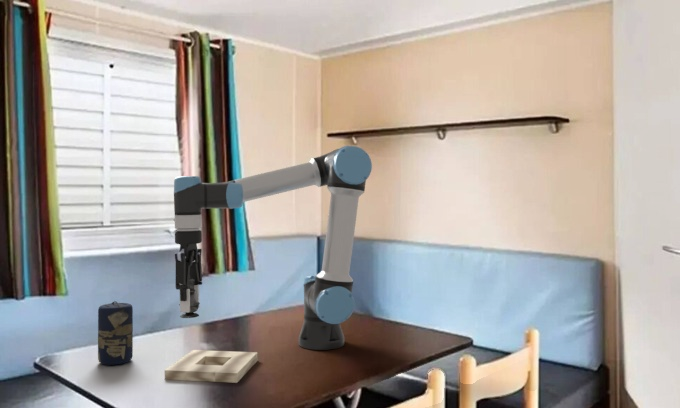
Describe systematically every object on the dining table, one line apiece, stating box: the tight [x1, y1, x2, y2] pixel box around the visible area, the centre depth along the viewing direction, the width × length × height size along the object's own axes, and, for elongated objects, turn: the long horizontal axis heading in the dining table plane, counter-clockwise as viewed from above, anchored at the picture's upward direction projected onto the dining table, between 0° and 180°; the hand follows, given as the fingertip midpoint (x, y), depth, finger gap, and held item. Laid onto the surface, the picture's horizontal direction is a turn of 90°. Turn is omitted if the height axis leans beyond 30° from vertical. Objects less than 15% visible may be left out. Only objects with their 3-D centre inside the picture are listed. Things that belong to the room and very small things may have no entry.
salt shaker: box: [178, 275, 201, 319], centre depth 165 cm, size 6×6×12 cm
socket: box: [164, 349, 258, 384], centre depth 161 cm, size 20×20×2 cm
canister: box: [97, 300, 134, 366], centre depth 168 cm, size 10×10×18 cm
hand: (189, 309), depth 165 cm, fingers closed on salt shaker, 6 cm apart
